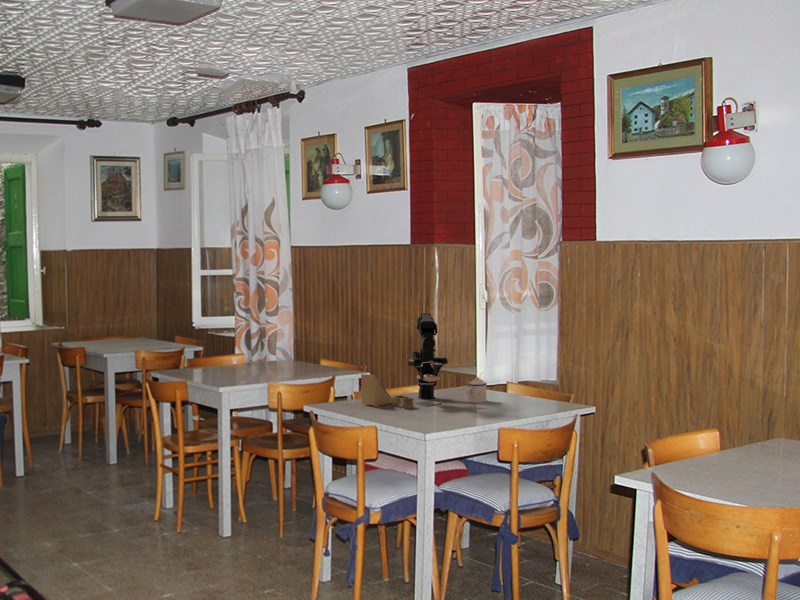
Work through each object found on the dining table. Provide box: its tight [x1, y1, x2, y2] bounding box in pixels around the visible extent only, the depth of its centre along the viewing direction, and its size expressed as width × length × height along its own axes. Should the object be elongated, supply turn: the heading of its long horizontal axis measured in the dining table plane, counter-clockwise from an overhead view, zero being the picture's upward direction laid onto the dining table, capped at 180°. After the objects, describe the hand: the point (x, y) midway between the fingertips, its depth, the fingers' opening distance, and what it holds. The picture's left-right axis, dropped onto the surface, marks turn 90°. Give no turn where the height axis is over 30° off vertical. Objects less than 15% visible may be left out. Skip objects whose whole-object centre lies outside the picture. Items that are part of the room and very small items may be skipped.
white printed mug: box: [466, 376, 487, 404], centre depth 435 cm, size 12×9×12 cm
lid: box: [416, 374, 441, 382], centre depth 430 cm, size 11×7×3 cm, turn 29°
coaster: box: [415, 400, 443, 407], centre depth 430 cm, size 9×9×1 cm
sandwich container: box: [360, 373, 393, 407], centre depth 433 cm, size 9×15×15 cm, turn 142°
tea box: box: [392, 394, 414, 409], centre depth 423 cm, size 10×5×4 cm, turn 29°
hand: (428, 379), depth 430 cm, fingers closed on lid, 7 cm apart
